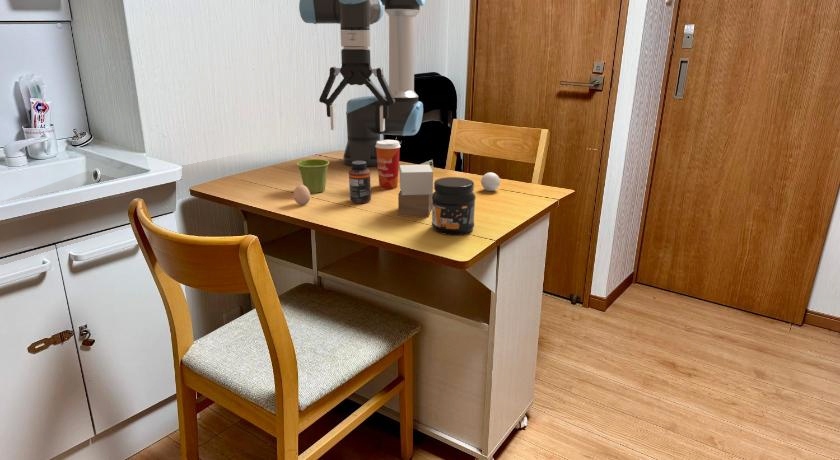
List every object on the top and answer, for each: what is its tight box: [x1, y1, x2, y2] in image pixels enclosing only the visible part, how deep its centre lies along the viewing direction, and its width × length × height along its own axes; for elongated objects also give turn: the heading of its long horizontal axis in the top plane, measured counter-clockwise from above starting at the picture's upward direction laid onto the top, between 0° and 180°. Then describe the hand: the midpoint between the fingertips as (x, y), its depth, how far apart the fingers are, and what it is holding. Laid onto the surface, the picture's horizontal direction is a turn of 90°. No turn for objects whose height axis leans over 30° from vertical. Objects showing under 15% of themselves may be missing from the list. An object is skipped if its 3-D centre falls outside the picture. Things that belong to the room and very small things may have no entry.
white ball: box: [480, 171, 501, 192], centre depth 173 cm, size 8×6×6 cm
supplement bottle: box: [348, 161, 372, 205], centre depth 162 cm, size 6×6×11 cm
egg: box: [293, 184, 311, 206], centre depth 159 cm, size 4×4×6 cm
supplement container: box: [431, 176, 476, 236], centre depth 140 cm, size 10×10×12 cm
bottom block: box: [397, 190, 432, 218], centre depth 154 cm, size 8×8×6 cm
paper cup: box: [375, 139, 401, 190], centre depth 175 cm, size 8×8×14 cm
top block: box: [399, 164, 434, 195], centre depth 152 cm, size 8×8×6 cm
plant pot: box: [296, 158, 330, 194], centre depth 172 cm, size 9×9×9 cm
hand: (358, 130), depth 157 cm, fingers open, 13 cm apart
